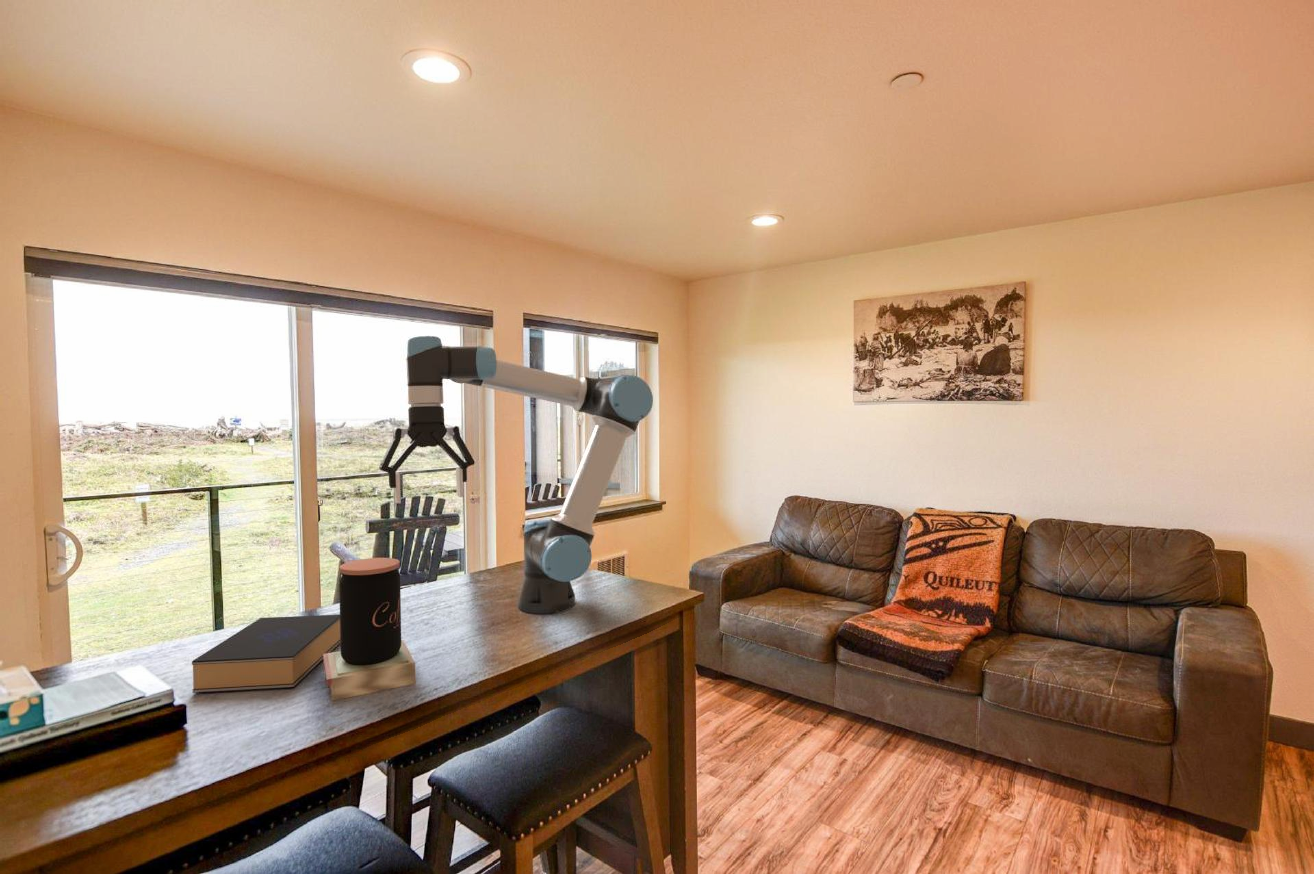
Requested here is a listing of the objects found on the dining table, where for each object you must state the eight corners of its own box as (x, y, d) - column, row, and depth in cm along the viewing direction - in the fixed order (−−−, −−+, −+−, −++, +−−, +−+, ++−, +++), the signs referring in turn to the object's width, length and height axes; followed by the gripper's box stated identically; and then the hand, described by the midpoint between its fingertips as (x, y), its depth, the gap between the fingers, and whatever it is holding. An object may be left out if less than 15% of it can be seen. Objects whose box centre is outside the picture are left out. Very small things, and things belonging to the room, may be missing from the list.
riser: (403, 659, 130) (403, 638, 130) (415, 683, 118) (415, 661, 118) (323, 674, 123) (322, 652, 122) (327, 701, 110) (326, 677, 110)
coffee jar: (378, 669, 114) (376, 571, 114) (327, 664, 116) (325, 569, 116) (412, 648, 125) (411, 558, 124) (365, 644, 127) (364, 556, 126)
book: (192, 697, 113) (191, 661, 113) (260, 647, 138) (260, 617, 138) (293, 691, 116) (292, 656, 115) (343, 643, 140) (342, 614, 140)
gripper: (476, 405, 150) (479, 492, 151) (362, 407, 136) (367, 503, 137) (486, 404, 144) (489, 495, 144) (368, 406, 130) (372, 507, 131)
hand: (429, 499), depth 141 cm, fingers open, 13 cm apart
